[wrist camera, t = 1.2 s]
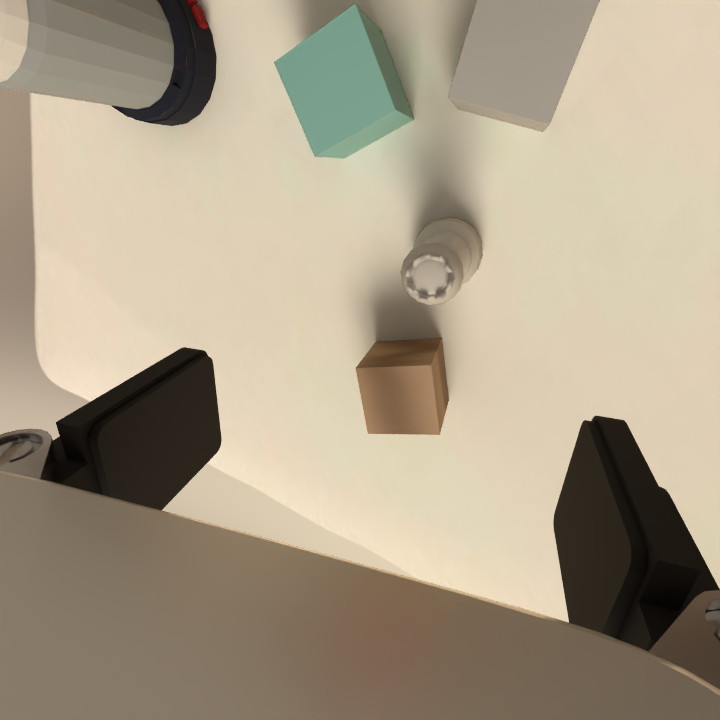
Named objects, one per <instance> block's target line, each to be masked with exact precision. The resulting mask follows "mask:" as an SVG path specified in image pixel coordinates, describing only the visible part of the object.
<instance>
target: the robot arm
mask: <svg viewBox="0 0 720 720" xmlns="http://www.w3.org/2000/svg"><path fill="white" fill-rule="evenodd" d="M56 425H57V428H58V431H59V434H60V437H58V438H57V439H55V440H52V437H51V435H50V434H49V433H48V432H46V431H43V430H40V429H24V430H16V431H12V432H8V433H4V434H1V435H0V720H720V589H719V587H718V585H717V584H716V582H715V580H714V578H713V576H712V574H711V572H710V570H709V568H708V567H707V565H706V563H705V561H704V559H703V557H702V555H701V553H700V551H699V550H698V548H697V546H696V544H695V542H694V540H693V538H692V536H691V534H690V533H689V531H688V529H687V527H686V525H685V523H684V521H683V519H682V517H681V516H680V514H679V512H678V510H677V508H676V506H675V504H674V502H673V500H672V499H671V497H670V495H669V493H668V492H667V491H666V489H664V488H662V487H659V486H658V484H657V482H656V480H655V478H654V476H653V474H652V472H651V470H650V468H649V466H648V464H647V463H646V461H645V459H644V457H643V455H642V453H641V451H640V449H639V447H638V445H637V443H636V441H635V439H634V437H633V435H632V433H631V431H630V429H629V427H628V425H627V423H626V422H625V421H624V420H619V419H613V418H607V417H601V416H595V417H594V418H593V419H592V421H586V420H585V421H583V423H582V425H581V428H580V431H579V435H578V438H577V441H576V444H575V448H574V451H573V454H572V457H571V461H570V464H569V467H568V471H567V474H566V477H565V480H564V484H563V487H562V490H561V494H560V497H559V500H558V503H557V507H556V510H555V514H554V532H555V538H556V544H557V550H558V557H559V563H560V569H561V575H562V581H563V587H564V593H565V599H566V605H567V611H568V618H569V623H568V622H565V621H561V620H558V619H555V618H552V617H549V616H545V615H542V614H539V613H536V612H532V611H529V610H526V609H523V608H520V607H516V606H512V605H508V604H505V603H501V602H497V601H494V600H490V599H487V598H483V597H479V596H476V595H472V594H469V593H465V592H461V591H458V590H454V589H450V588H447V587H443V586H440V585H436V584H432V583H429V582H425V581H421V580H418V579H414V578H410V577H406V576H403V575H399V574H396V573H392V572H388V571H385V570H381V569H377V568H374V567H370V566H366V565H363V564H359V563H355V562H352V561H348V560H345V559H341V558H337V557H334V556H330V555H326V554H322V553H319V552H315V551H312V550H307V549H304V548H300V547H297V546H293V545H289V544H286V543H282V542H278V541H274V540H271V539H267V538H263V537H259V536H256V535H252V534H248V533H244V532H240V531H237V530H233V529H229V528H226V527H221V526H218V525H214V524H211V523H207V522H203V521H199V520H196V519H192V518H188V517H184V516H180V515H176V514H173V513H169V512H165V511H161V510H162V509H163V508H164V507H165V506H166V505H167V504H168V503H169V502H170V501H171V500H172V499H173V498H174V497H175V496H176V495H177V493H179V491H180V490H181V489H182V488H183V487H184V486H185V485H186V484H187V483H188V482H189V481H190V480H191V479H192V478H193V477H194V476H195V475H196V474H197V473H198V472H199V471H200V470H201V469H202V468H203V467H204V465H205V464H206V463H207V462H208V461H209V460H210V459H211V458H212V457H213V456H214V455H215V454H216V453H217V452H218V450H219V448H220V445H221V431H220V422H219V413H218V404H217V395H216V386H215V377H214V368H213V361H212V359H211V358H210V357H208V355H207V353H206V352H205V351H203V350H197V349H191V348H185V347H184V348H181V349H179V350H177V351H176V352H174V353H172V354H171V355H169V356H167V357H166V358H164V359H162V360H160V361H159V362H157V363H155V364H154V365H152V366H150V367H149V368H147V369H145V370H144V371H142V372H140V373H138V374H137V375H135V376H133V377H132V378H130V379H128V380H127V381H125V382H123V383H122V384H120V385H118V386H116V387H115V388H113V389H111V390H110V391H108V392H106V393H105V394H103V395H101V396H100V397H98V398H96V399H94V400H93V401H91V402H89V403H88V404H86V405H84V406H83V407H81V408H79V409H78V410H76V411H74V412H73V413H71V414H69V415H67V416H66V417H64V418H62V419H61V420H59V421H58V422H56Z"/></svg>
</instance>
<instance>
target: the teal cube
mask: <svg viewBox="0 0 720 720" xmlns="http://www.w3.org/2000/svg"><path fill="white" fill-rule="evenodd" d="M274 63H275V66H276V68H277V70H278V73H279V75H280V77H281V80H282V82H283V84H284V87H285V89H286V91H287V94H288V96H289V98H290V100H291V103H292V105H293V107H294V110H295V112H296V114H297V117H298V119H299V121H300V124H301V126H302V128H303V130H304V133H305V135H306V137H307V140H308V142H309V144H310V147H311V149H312V151H313V154H314V156H315V157H329V158H346V157H348V156H349V155H351V154H353V153H355V152H356V151H358V150H360V149H362V148H364V147H365V146H367V145H369V144H371V143H373V142H374V141H376V140H378V139H380V138H382V137H383V136H385V135H387V134H389V133H391V132H392V131H394V130H396V129H398V128H399V127H401V126H403V125H405V124H407V123H408V122H410V121H412V120H414V118H413V115H412V113H411V110H410V107H409V105H408V102H407V99H406V96H405V94H404V91H403V88H402V86H401V83H400V80H399V77H398V75H397V72H396V69H395V67H394V64H393V61H392V58H391V56H390V53H389V50H388V48H387V45H386V42H385V39H384V37H383V34H382V31H381V30H380V29H379V28H378V27H377V26H376V25H375V24H374V23H373V22H372V21H371V20H370V19H369V17H368V16H367V15H366V14H365V13H364V12H363V11H362V10H361V9H360V8H359V7H358V6H357V5H356V4H354V5H352V6H351V7H350V8H348V9H347V10H346V11H344V12H343V13H341V14H340V15H339V16H337V17H336V18H334V19H333V20H332V21H330V22H329V23H328V24H326V25H325V26H323V27H322V28H321V29H319V30H318V31H317V32H315V33H314V34H312V35H311V36H310V37H308V38H307V39H306V40H304V41H303V42H301V43H300V44H299V45H297V46H296V47H295V48H293V49H292V50H290V51H289V52H288V53H286V54H285V55H283V56H282V57H281V58H279V59H278V60H277V61H275V62H274Z"/></svg>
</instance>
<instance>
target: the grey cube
mask: <svg viewBox="0 0 720 720" xmlns="http://www.w3.org/2000/svg"><path fill="white" fill-rule="evenodd" d="M599 1H600V0H477V2H476V5H475V8H474V12H473V15H472V19H471V22H470V25H469V29H468V32H467V35H466V39H465V42H464V45H463V49H462V52H461V55H460V59H459V62H458V65H457V69H456V72H455V75H454V79H453V82H452V85H451V89H450V92H449V96H448V98H449V99H450V100H451V101H452V102H453V104H454V105H455V106H456V107H457V108H458V109H459V110H463V111H466V112H470V113H474V114H478V115H481V116H485V117H489V118H492V119H496V120H500V121H504V122H507V123H511V124H515V125H518V126H522V127H526V128H530V129H533V130H537V131H541V132H543V131H544V130H545V129H546V128H547V127H548V126H549V124H550V122H551V120H552V117H553V115H554V112H555V110H556V107H557V105H558V102H559V100H560V98H561V95H562V93H563V90H564V88H565V85H566V83H567V80H568V78H569V75H570V73H571V70H572V68H573V65H574V63H575V60H576V58H577V55H578V53H579V50H580V48H581V46H582V43H583V41H584V38H585V36H586V33H587V31H588V28H589V26H590V23H591V21H592V18H593V16H594V13H595V11H596V8H597V6H598V3H599Z"/></svg>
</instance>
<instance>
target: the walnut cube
mask: <svg viewBox="0 0 720 720" xmlns="http://www.w3.org/2000/svg"><path fill="white" fill-rule="evenodd" d="M356 372H357V377H358V383H359V388H360V393H361V399H362V404H363V409H364V415H365V420H366V425H367V431H368V433H369V434H429V435H440V431H441V427H442V424H443V420H444V416H445V412H446V408H447V405H448V401H449V398H448V389H447V380H446V371H445V361H444V352H443V343H442V338H435V339H418V340H401V341H384V342H375V344H374V345H373V346H372V348H371V349H370V350H369V351H368V353H367V354H366V355H365V357H364V358H363V359H362V361H361V362H360V363H359V365H358V366H357V367H356Z"/></svg>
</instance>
